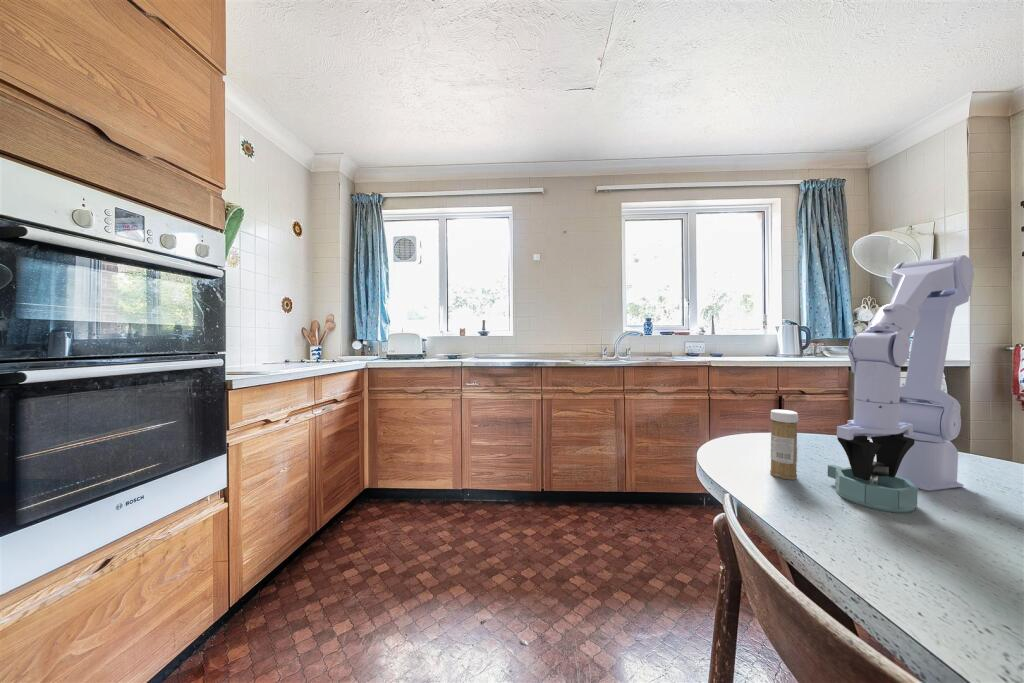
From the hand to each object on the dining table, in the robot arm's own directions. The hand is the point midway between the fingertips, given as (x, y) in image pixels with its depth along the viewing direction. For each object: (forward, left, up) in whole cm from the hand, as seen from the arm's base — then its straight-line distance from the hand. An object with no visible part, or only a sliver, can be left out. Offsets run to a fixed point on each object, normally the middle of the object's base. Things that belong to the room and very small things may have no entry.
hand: (873, 476), depth 66 cm
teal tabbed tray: (0, -1, -4) cm, 4 cm away
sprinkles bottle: (+6, -12, -4) cm, 14 cm away
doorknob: (0, 0, -3) cm, 3 cm away
